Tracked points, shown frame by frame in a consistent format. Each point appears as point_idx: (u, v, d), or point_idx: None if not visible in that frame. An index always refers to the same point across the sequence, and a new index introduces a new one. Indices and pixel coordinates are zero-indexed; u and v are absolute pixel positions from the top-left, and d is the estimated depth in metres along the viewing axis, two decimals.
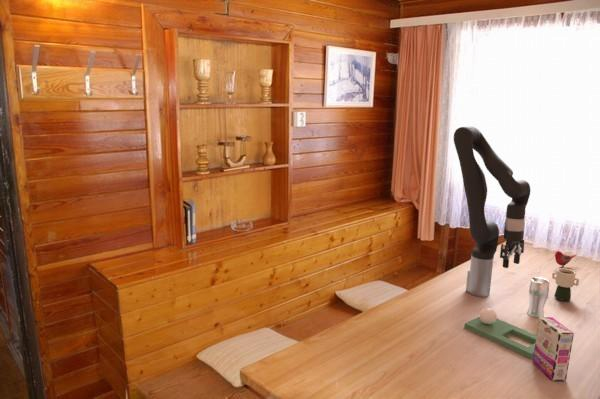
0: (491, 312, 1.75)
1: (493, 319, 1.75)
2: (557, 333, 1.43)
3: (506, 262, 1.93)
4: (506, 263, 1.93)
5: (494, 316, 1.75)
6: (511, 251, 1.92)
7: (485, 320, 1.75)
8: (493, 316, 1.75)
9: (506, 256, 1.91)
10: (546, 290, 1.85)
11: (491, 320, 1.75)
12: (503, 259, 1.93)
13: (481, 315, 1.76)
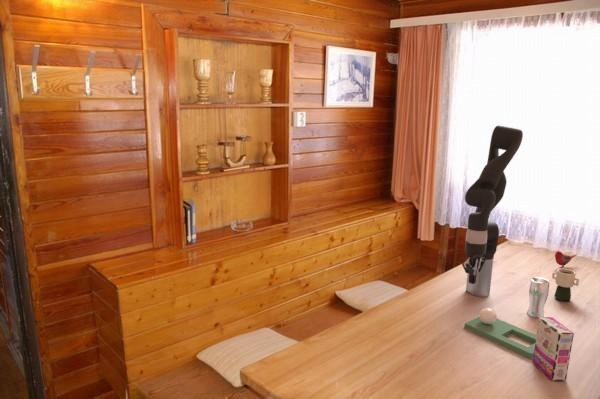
0: (491, 312, 1.75)
1: (493, 319, 1.75)
2: (557, 333, 1.43)
3: (472, 278, 1.80)
4: (472, 279, 1.80)
5: (494, 316, 1.75)
6: (474, 267, 1.78)
7: (485, 320, 1.75)
8: (493, 316, 1.75)
9: (472, 271, 1.78)
10: (546, 290, 1.85)
11: (491, 320, 1.75)
12: (469, 274, 1.80)
13: (481, 315, 1.76)
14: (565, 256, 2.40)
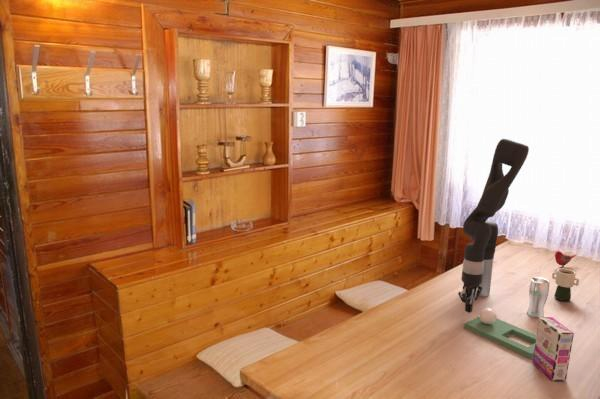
0: (491, 312, 1.75)
1: (493, 319, 1.75)
2: (557, 333, 1.43)
3: (468, 306, 1.82)
4: (468, 307, 1.83)
5: (494, 316, 1.75)
6: (471, 296, 1.80)
7: (485, 320, 1.75)
8: (493, 316, 1.75)
9: (468, 301, 1.81)
10: (546, 290, 1.85)
11: (491, 320, 1.75)
12: None
13: (481, 315, 1.76)
14: (565, 256, 2.40)
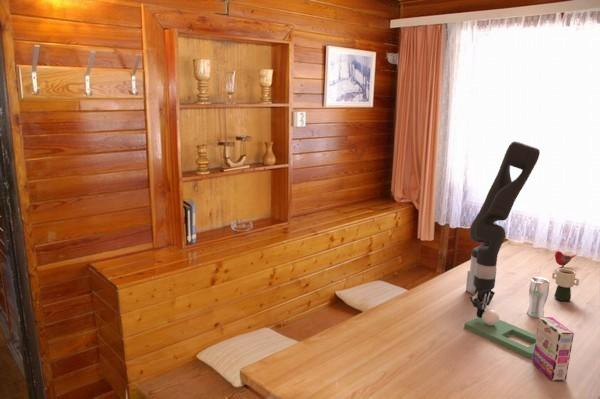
0: (495, 316, 1.74)
1: (495, 322, 1.74)
2: (557, 333, 1.43)
3: (480, 312, 1.78)
4: (480, 313, 1.78)
5: (497, 320, 1.74)
6: (483, 301, 1.76)
7: (487, 322, 1.75)
8: (496, 320, 1.74)
9: (480, 306, 1.76)
10: (546, 290, 1.85)
11: (493, 323, 1.74)
12: (477, 308, 1.79)
13: (484, 316, 1.75)
14: (565, 256, 2.40)
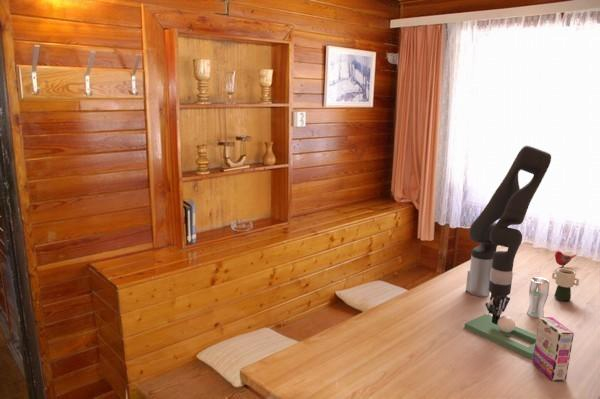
0: (507, 332, 1.71)
1: None
2: (557, 333, 1.43)
3: (496, 318, 1.73)
4: (496, 319, 1.73)
5: None
6: (498, 307, 1.71)
7: (499, 326, 1.71)
8: None
9: (496, 312, 1.71)
10: (546, 290, 1.85)
11: (499, 328, 1.72)
12: None
13: (504, 325, 1.69)
14: (565, 256, 2.40)
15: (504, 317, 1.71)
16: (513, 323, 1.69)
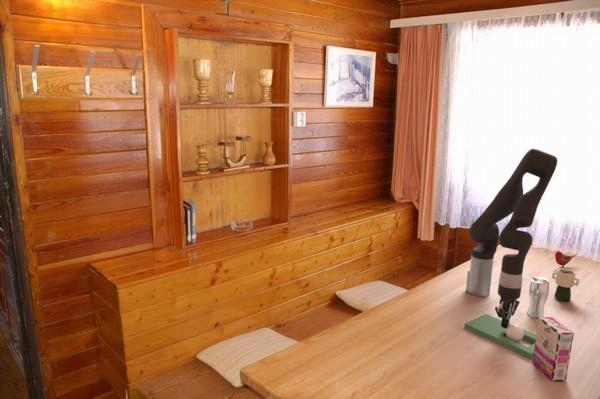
0: None
1: None
2: (557, 333, 1.43)
3: (505, 322, 1.70)
4: (505, 323, 1.71)
5: None
6: (508, 311, 1.68)
7: (509, 331, 1.68)
8: None
9: (505, 316, 1.69)
10: (546, 290, 1.85)
11: (507, 328, 1.70)
12: (502, 318, 1.71)
13: (512, 338, 1.67)
14: (565, 256, 2.40)
15: (520, 334, 1.66)
16: None
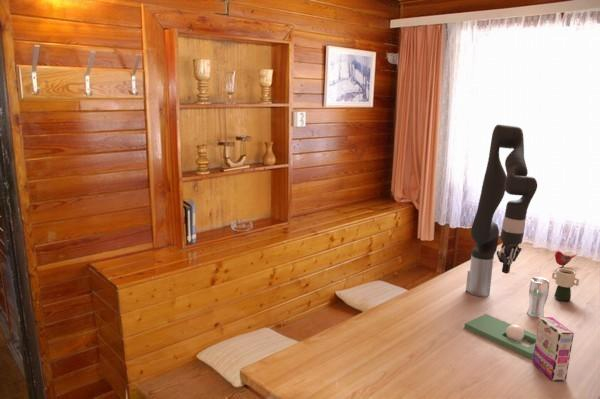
0: None
1: (507, 328, 1.70)
2: (557, 333, 1.43)
3: (506, 267, 1.75)
4: (506, 268, 1.75)
5: None
6: (509, 256, 1.72)
7: (510, 332, 1.68)
8: None
9: (506, 261, 1.73)
10: (546, 290, 1.85)
11: (507, 328, 1.70)
12: (503, 263, 1.75)
13: (512, 338, 1.67)
14: (565, 256, 2.40)
15: (521, 335, 1.66)
16: None
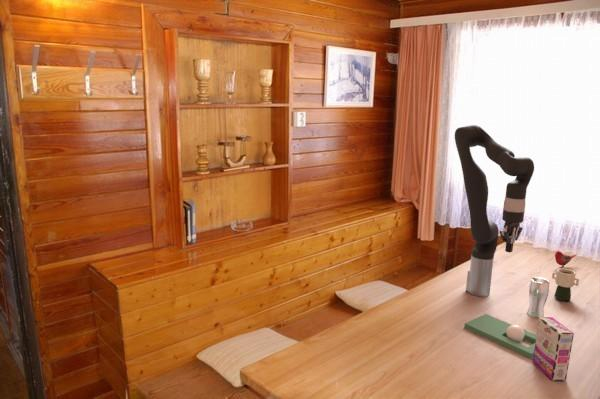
0: None
1: (507, 328, 1.70)
2: (557, 333, 1.43)
3: (509, 246, 1.82)
4: (509, 247, 1.82)
5: None
6: (512, 235, 1.80)
7: (510, 332, 1.67)
8: None
9: (509, 240, 1.80)
10: (546, 290, 1.85)
11: (508, 328, 1.69)
12: (506, 243, 1.82)
13: (512, 339, 1.67)
14: (565, 256, 2.40)
15: (521, 336, 1.66)
16: None
